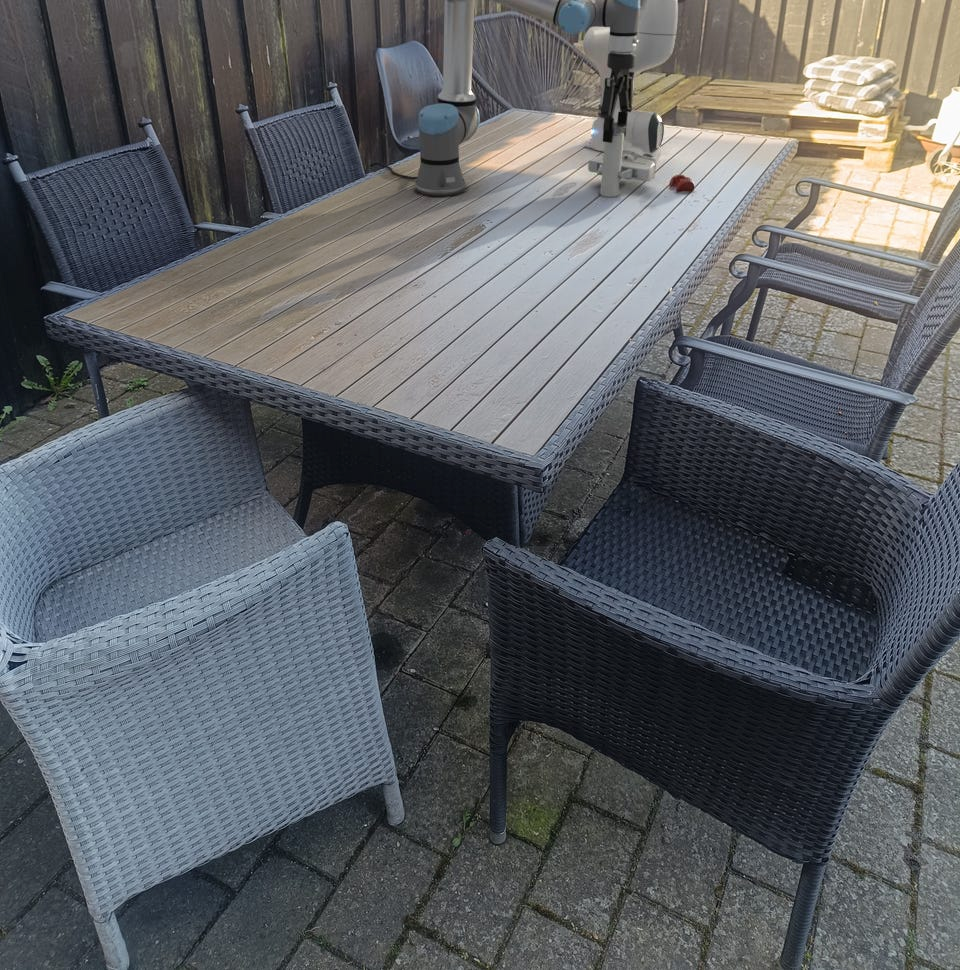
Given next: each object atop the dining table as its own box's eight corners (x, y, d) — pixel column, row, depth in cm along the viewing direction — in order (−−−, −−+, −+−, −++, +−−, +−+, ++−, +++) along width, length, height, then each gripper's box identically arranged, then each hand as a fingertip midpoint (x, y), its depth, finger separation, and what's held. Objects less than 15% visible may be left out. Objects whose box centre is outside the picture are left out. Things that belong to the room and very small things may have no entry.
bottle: (621, 193, 256) (627, 127, 244) (613, 198, 252) (619, 131, 241) (605, 190, 258) (610, 124, 247) (597, 195, 254) (602, 128, 243)
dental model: (685, 170, 259) (697, 178, 253) (684, 184, 262) (695, 192, 256) (668, 172, 258) (679, 180, 252) (667, 186, 261) (678, 194, 255)
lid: (627, 129, 246) (628, 123, 245) (623, 134, 241) (623, 127, 240) (606, 127, 248) (607, 121, 246) (602, 132, 243) (602, 126, 242)
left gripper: (616, 58, 224) (609, 148, 237) (650, 48, 238) (641, 133, 251) (591, 56, 227) (585, 144, 240) (626, 45, 241) (618, 130, 254)
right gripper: (600, 148, 263) (579, 158, 253) (661, 157, 254) (642, 168, 244) (598, 169, 267) (578, 179, 257) (658, 179, 257) (639, 190, 248)
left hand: (614, 138), depth 246 cm, fingers open, 8 cm apart
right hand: (609, 174), depth 251 cm, fingers closed on bottle, 5 cm apart
